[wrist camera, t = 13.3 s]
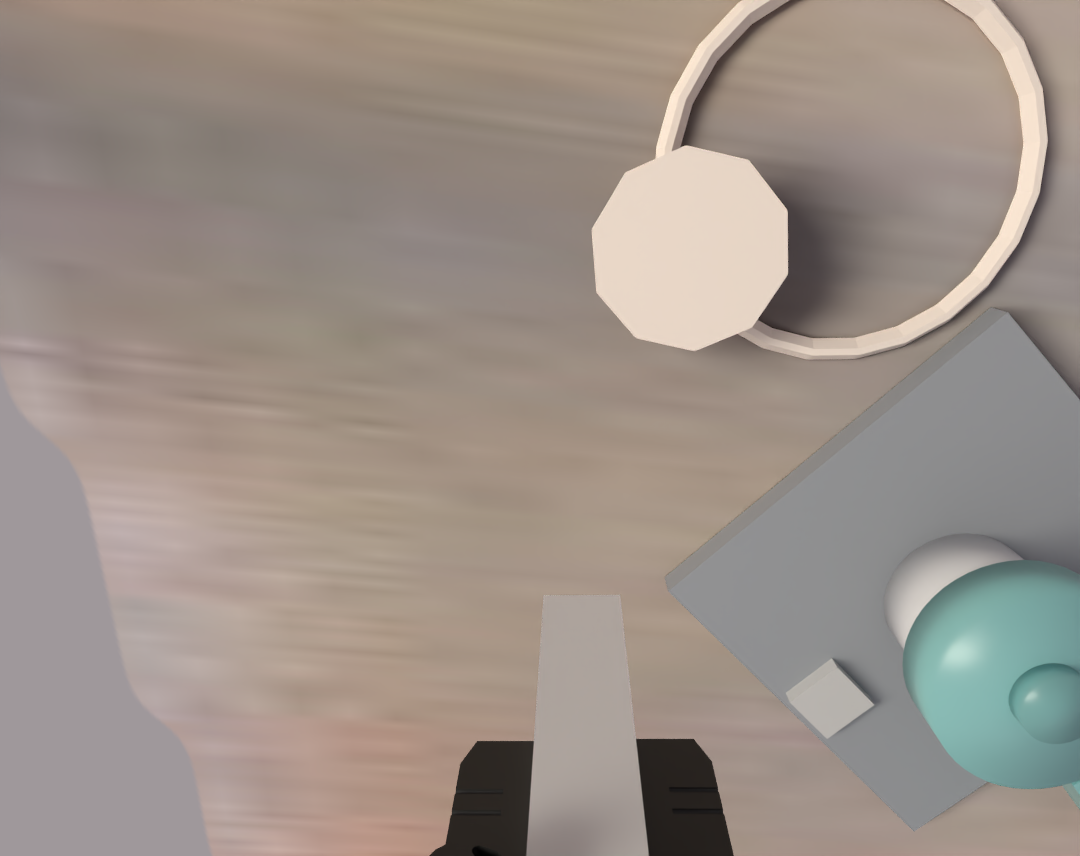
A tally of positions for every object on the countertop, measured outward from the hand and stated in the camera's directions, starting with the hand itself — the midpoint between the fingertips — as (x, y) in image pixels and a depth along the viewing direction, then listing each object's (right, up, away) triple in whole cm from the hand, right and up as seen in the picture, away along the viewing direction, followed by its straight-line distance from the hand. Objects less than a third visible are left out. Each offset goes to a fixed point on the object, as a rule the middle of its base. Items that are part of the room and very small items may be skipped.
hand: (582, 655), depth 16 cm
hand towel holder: (+11, +15, +20) cm, 28 cm away
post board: (+21, -4, +25) cm, 33 cm away
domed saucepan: (+23, -9, +23) cm, 34 cm away
